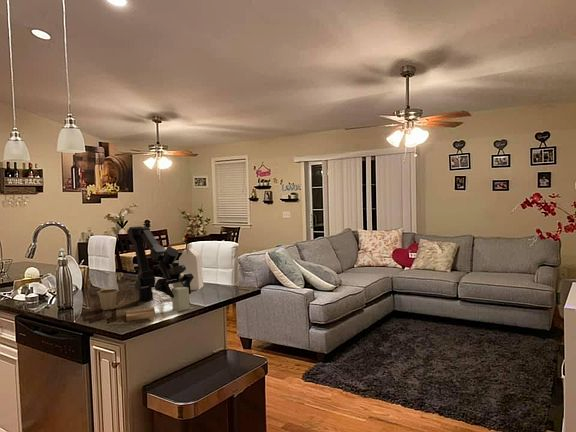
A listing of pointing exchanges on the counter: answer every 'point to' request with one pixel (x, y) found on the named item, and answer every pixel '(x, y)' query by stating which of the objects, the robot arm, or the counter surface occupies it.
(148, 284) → the robot arm
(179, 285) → the olive grey block
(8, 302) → the counter surface
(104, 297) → the flower pot
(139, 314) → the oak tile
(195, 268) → the milk
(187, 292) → the canister
